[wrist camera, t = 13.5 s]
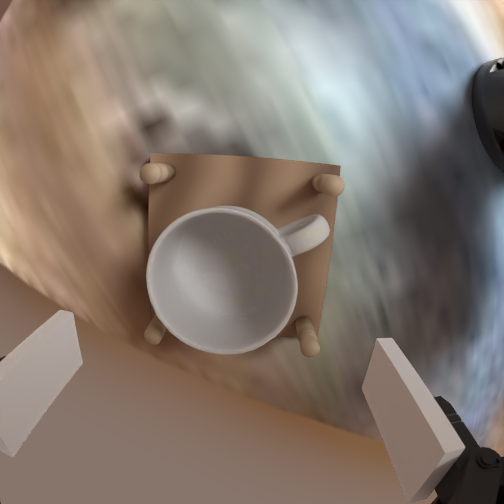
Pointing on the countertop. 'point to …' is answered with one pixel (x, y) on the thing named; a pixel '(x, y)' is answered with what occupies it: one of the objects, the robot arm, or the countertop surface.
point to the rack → (259, 201)
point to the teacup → (228, 276)
